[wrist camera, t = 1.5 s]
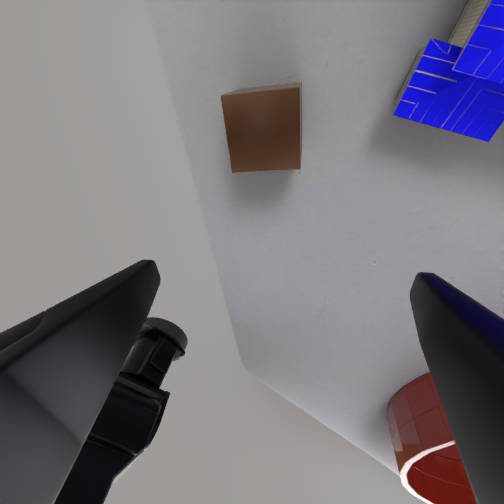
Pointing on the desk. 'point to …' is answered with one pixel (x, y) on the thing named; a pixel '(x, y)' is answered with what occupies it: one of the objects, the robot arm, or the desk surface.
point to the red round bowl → (426, 446)
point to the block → (264, 128)
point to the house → (460, 76)
